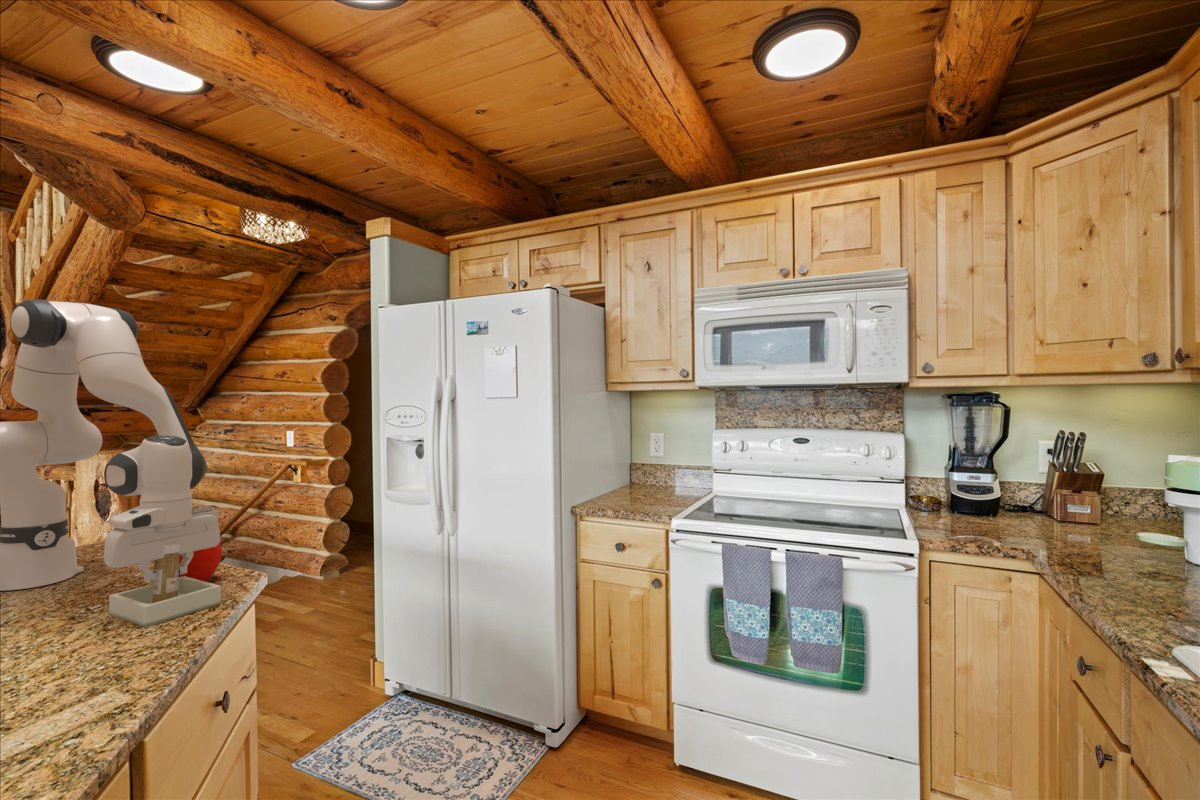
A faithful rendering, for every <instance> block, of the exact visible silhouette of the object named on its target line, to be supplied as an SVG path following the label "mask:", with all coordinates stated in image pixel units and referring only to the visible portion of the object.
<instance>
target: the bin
mask: <svg viewBox="0 0 1200 800" xmlns="http://www.w3.org/2000/svg"><path fill="white" fill-rule="evenodd" d="M152 590H153V583H152V584H149V585H144V586H141V587H137V588H132V589H128V590H125V591H121V592H117V593H112V594H109V597H108V598H109V599H108V600H109V601H108V605H109V606H108V609H109V610H108V614H109V615H110V616H112V617H115V618H118V619H120V620H124V621H126V622H129V623H132V624H134V625H138V626H140V627H143V628H149V627H151V626H154V625H157V624H158V625H159V624H161V623H164V622H167V621H171V620H173V619H177V618H180V617H183V616H186V615H189V614H193V613H197V612H199V611H203V610H205V609H210V608H212V607H216V606H219V605H221V604H222V603H221V600H222V599H221V596H222V595H221V593H222V591H221V590H222V586H221V585H219V584H215V583H212V582H208V581H206V582H205V581H201V580H197V579H193V578H189V577H186V576H183V577H179V584H178V596H177V597H174V598H170V599H167V600H163V601H159V602H156V603H152V600H153V593H152Z"/></svg>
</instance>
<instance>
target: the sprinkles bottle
mask: <svg viewBox="0 0 1200 800" xmlns="http://www.w3.org/2000/svg"><path fill="white" fill-rule="evenodd" d="M179 551H180V544H171V545H166V546H164V554H165V555H164V558H161V559H157V560H153V561H154V563H153V571H152V572H156V573H157V576H156V578H157V580H156V581H153V582H152V584H153V590H152V593H153V600H152V603H156V602H159V601H163V600H167V599H170V598H174V597H177V596H178V584H179V555H178V554H179V553H178V552H179Z"/></svg>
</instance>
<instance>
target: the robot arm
mask: <svg viewBox="0 0 1200 800" xmlns="http://www.w3.org/2000/svg"><path fill="white" fill-rule="evenodd" d="M9 324H10V325H9V326H10V330H11V334H12V335H13V336H14V338H15V339H17V341H18V342H19V343H21V344H20V347H19V349H18V353H17V355H16V360H15V365H14V372H13V377H12V383H11V388H10V389H11V390H10V393H11V395H12V396H11V397H12V398H13V399H14V400H15V401H16V402H17V403H18V404H19V405H22V406H23V407H26V408H29V409H32V410H35V411H37V419H36V420H25V421H24V420H23V421H21V420H19V421H0V521H1V522H0V591H1V592H4V591H16V590H18V591H19V590H24V589H32V588H36V587H37V588H38V587H43V586H47V585H52V584H54V583H55V584H56V583H59V582H63V581H65V580H67V579H70V578H73V577H74V576H75V575H77V574H79V573H82V572H84V571H85V568H84V566H81V565H78V562H77V561H78V560H77V550H76V549H77V547H76V541H75V540H74V539H73V538H71V537H69V536H68V535H67V534H68V533H69V528H70V525H69V519H67V516H66V515H67V511H66V510H67V501H66V500H67V492H66V491H65V489H64V487H62V485H61V484H59V483H57V482H54V481H51V480H47V479H44V478H41V476H39V474H38V472H37V466H50V465H51V466H52V465H62V464H71V463H75V462H79V461H84V460H88V459H89V460H90V459H92V458H94V457H95V456H96V455H97V454H98V452H100V449H101V448H102V446H103V436H102V433H101V432H102V431H100V429H99V428H98V427H97V426H96V425H95V424H94V423H92V422H91V421H89V420H88V419H86V418H85V416H84V415H83V414H82V412H81V411H80V409H79V406H78V400H77V399H78V397H77V395H78V387H79V379H81V381H82V384H83V385H84V388H86V390H87V391H88V392H89V393H90V394H92V395H93V396H94V397H96V398H98V399H99V400H103V401H104V402H108V403H111V404H114V405H120V406H123V407H126V408H129V409H132V410H134V411H137V412H139V413H141V414H143V415H144V416H146V417H147V418H148V419H150V421H151V422H152V424H153V426H154V429H155V430H156V432H157V434H158V435H151V436H149V437H145V438H144V439H143V440H142V442H141V444H140V445H139V446H137V447H135V448H131V449H130V450H127V451H124V452H120V453H119V452H118V453H116V454H114V455H113V457H111V458H110V459H109V461H107V464H106V465H105V466H104V471H103V473H104V475H103V477H104V483H105V485H106V487H107V488H108V490H110V491H111V492H113V494H116V495H117V496H127V497H129V496H130V497H131V496H132V497H133V496H139V495H140V498H139V505H137V506H135V507H133V508H131V509H129V510H126V511H124V512H121V513H118V514H116V515H114V516H112V517H110V518H109V525H110V527H112V529H111V530H110V531H109V532H108V533H107V535H106V537H105V543H104V547H103V548H104V549H103V563H104V564H105V565H106V566H108V567H109V568H114V569H120V568H124V567H129V566H133V565H137V568H138V569H139V570H140V571H141V572H142V574H143V581H144V583H146V584H149V583H153V581H156V580H157V578H156V576H157V573H156V572H153V571H151V570H150V568H149V567H151V564H152V563H151V562H152V561H154V560H157V559H161V558H164V555H165V554H164V546H166V545H171V544H180V551H179V552H178V553H179V554H181V556H182V557H183V559H182V561H181V563H180V565H179V575H181V574H185V573H187V565H188V564H189V563H190V561H191V559H192V558H193V551H198V550H202V549H207V548H211V547H216V546H217V545H218V544H219V542H220V543H221V533H220V531H221V530H220V525H219V516H220V515H219V514H220V513H219V510H218V509H217V508H215V507H214V506H213V507H212V505H205V506H203V507H194V508H193V494H192V489H195V487H197V486H198V484H200V483H201V481H203V479H204V478H205V475H206V474H207V470H208V467H207V461H206V458H205V457H204V455H203V453H202V451H200V449H199V448H198V446H197V445H196V444H195V442H194V441H193V440H194V439H193V438H192V436H191V433H190V432H189V430H188V427H187V426H186V424H185V422H184V419H183V417H182V414H181V412H180V411H179V409H178V407H177V404H176V402H175V401H174V397H172V394H171V393H170V392H169V390H168V389H167V388H166V386H164V385H163V384H161V383H159V382H158V381H157V380H156V379H155V378H154V377H153V375H152V374H151V373H150V372H149V370H148V368H147V367H146V365H145V363H144V359H143V356H142V353H141V350H140V347H139V345H138V342H137V338H138V334H139V327H138V323H137V320H136V319H135V318H134V316H133V315H132V314H131V313H129V312H127V311H126V310H122V309H119V308H116V307H107V306H106V307H105V306H101V305H97V304H91V303H84V302H70V301H58V300H57V301H54V300H50V301H49V300H46V299H26V300H22V301H21V302H19V303H18V304H16V306H15V307H14V308H12V312H11V314H10V323H9ZM179 554H178V555H179Z"/></svg>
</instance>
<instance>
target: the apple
mask: <svg viewBox="0 0 1200 800" xmlns="http://www.w3.org/2000/svg"><path fill="white" fill-rule="evenodd" d="M222 554H223V549H222V544H221V541H220V542H219V544H218V545H217V546H216V547H211V548H207V549H202V550H198V551H193V558H192V559H191V561H190V563H189V564H188V565H187V573H185V574H181V575H179V577H183V576H186V577H189V578H193V579H197V580H201V581H205V582H208V581H209V580H210V579H211V578H212V576H214V574H215V572H216V571H217V569H218V567H219V565H220V562H221V560H222ZM182 559H183V557H182V556H181V554H179V565H180V563H181V561H182Z"/></svg>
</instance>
